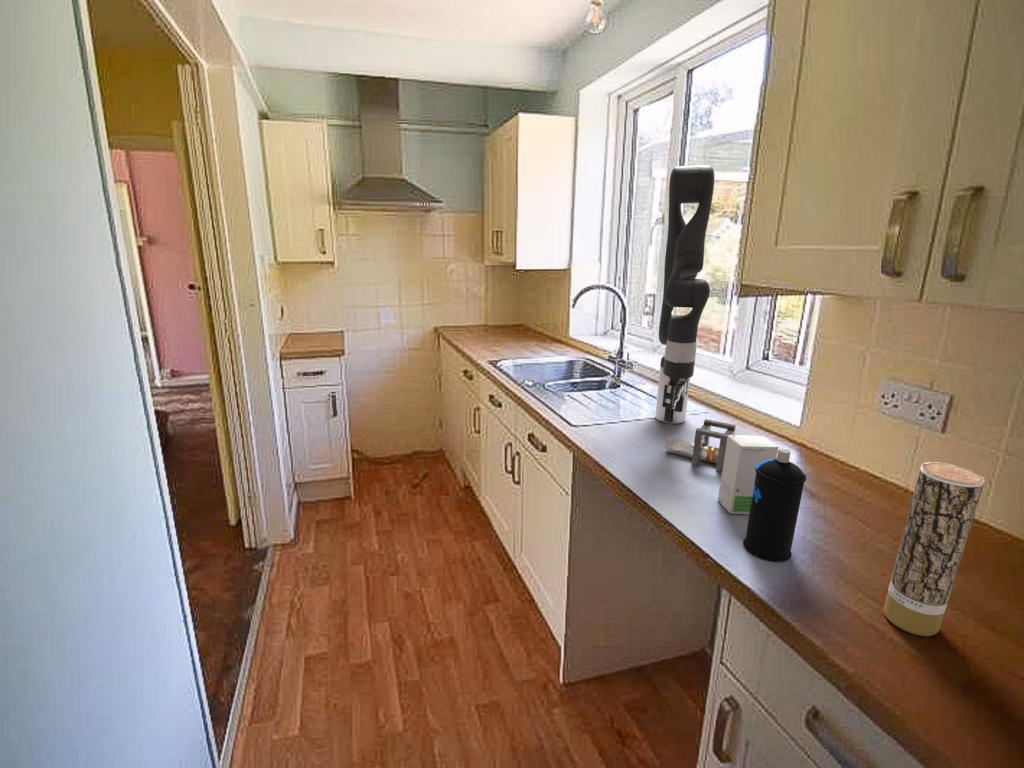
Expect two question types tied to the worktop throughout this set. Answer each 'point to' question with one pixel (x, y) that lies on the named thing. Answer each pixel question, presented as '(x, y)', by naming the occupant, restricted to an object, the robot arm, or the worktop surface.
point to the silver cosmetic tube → (691, 450)
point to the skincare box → (742, 470)
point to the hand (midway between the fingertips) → (673, 416)
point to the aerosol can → (774, 508)
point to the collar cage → (703, 439)
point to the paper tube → (932, 546)
